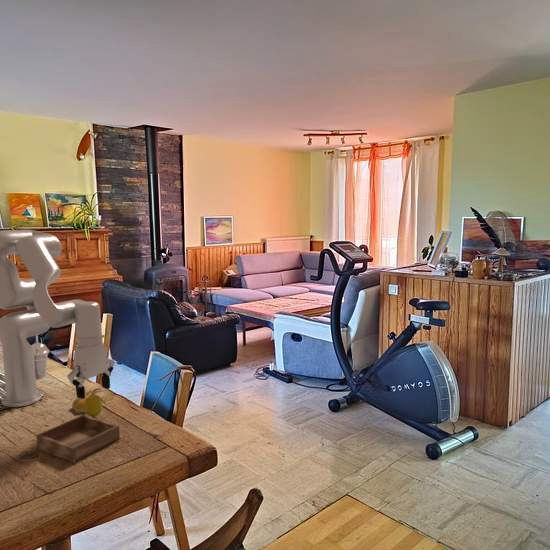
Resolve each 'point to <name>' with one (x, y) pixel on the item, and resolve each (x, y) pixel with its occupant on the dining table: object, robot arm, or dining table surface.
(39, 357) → the cup with straw
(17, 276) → the robot arm
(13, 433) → the dining table surface
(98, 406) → the lemon
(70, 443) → the bin
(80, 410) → the bread roll
